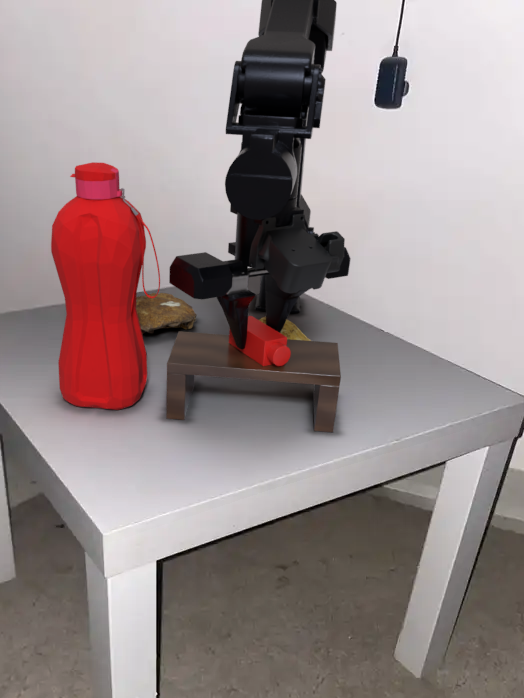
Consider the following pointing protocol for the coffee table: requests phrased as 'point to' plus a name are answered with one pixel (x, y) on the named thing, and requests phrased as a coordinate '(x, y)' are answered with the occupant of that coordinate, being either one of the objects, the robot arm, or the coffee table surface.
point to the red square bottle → (264, 344)
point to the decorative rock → (163, 312)
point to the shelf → (253, 371)
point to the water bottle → (100, 291)
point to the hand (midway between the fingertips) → (256, 345)
